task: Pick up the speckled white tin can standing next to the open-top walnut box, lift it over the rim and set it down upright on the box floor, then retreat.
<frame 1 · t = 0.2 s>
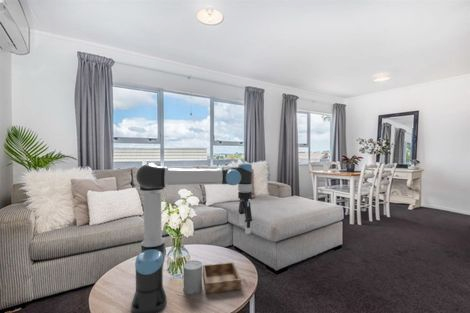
hand: (244, 229, 130), 28 cm above the table, fingers open, 13 cm apart
speckled white tin can: (192, 288, 121), on the table
walnut box: (220, 281, 127), on the table
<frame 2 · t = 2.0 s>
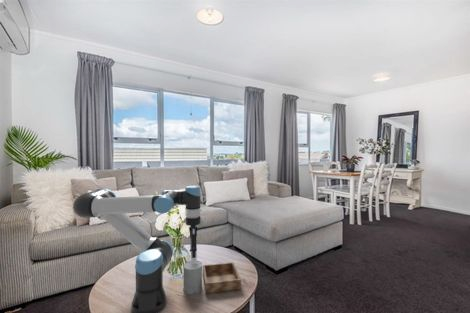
hand: (193, 257, 120), 16 cm above the table, fingers open, 13 cm apart
nothing on the table moved.
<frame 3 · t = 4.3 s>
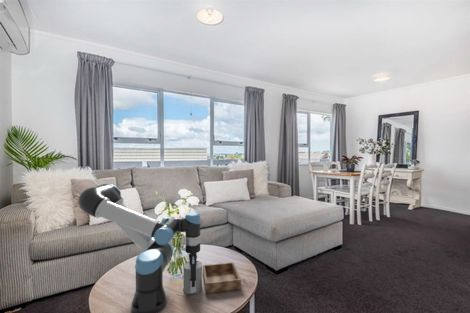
hand: (192, 286, 121), 1 cm above the table, fingers closed on speckled white tin can, 9 cm apart
speckled white tin can: (192, 288, 121), on the table, touching gripper
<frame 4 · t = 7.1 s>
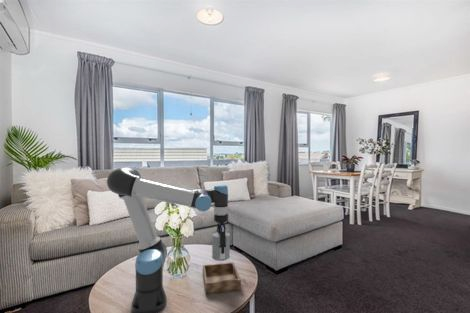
hand: (220, 254, 127), 15 cm above the table, fingers closed on speckled white tin can, 9 cm apart
speckled white tin can: (220, 257, 127), point 14 cm above the table, touching gripper
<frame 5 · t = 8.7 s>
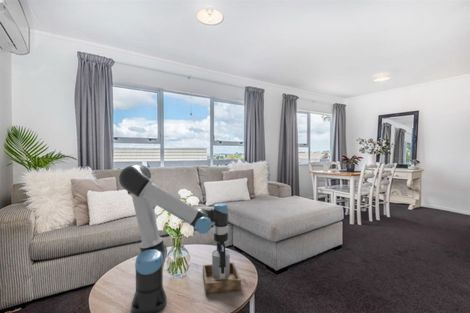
hand: (220, 273, 127), 5 cm above the table, fingers closed on speckled white tin can, 9 cm apart
speckled white tin can: (220, 275, 127), point 3 cm above the table, touching gripper
when the fingers open (4 cm above the table, at t = 9.9 s): speckled white tin can drops 1 cm, resting on walnut box.
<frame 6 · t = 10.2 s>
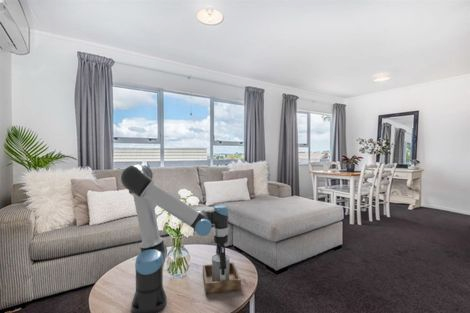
hand: (220, 273, 127), 5 cm above the table, fingers open, 13 cm apart
speckled white tin can: (220, 280, 127), point 1 cm above the table, touching walnut box
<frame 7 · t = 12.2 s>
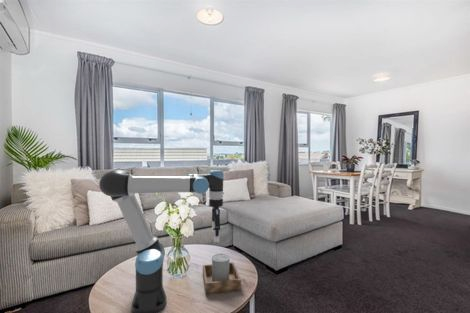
hand: (215, 237, 128), 24 cm above the table, fingers open, 13 cm apart
nothing on the table moved.
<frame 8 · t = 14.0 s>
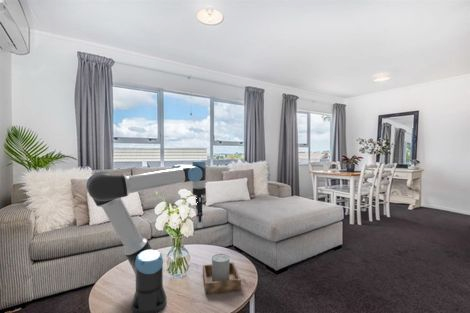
hand: (199, 223, 136), 29 cm above the table, fingers open, 13 cm apart
nothing on the table moved.
at the end: speckled white tin can 0.0 cm from the walnut box (horizontally); speckled white tin can tilted 0°; the gripper is holding nothing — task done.
